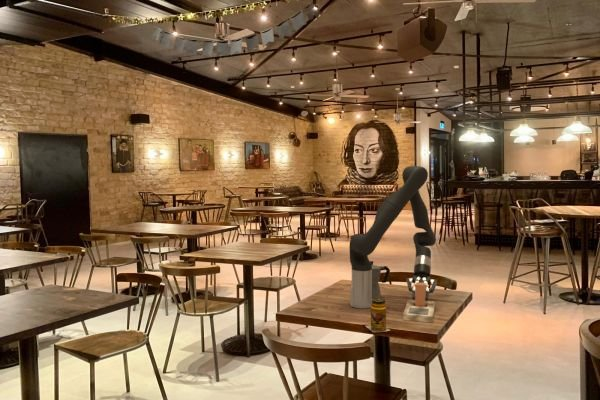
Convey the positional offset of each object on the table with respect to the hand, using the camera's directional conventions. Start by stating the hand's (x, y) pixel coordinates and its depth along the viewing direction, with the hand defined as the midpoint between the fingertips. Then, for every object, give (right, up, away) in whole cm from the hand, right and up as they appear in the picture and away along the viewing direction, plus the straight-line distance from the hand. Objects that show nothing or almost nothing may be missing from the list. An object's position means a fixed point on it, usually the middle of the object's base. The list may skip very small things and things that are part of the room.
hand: (420, 299), depth 228 cm
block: (+1, -5, +2) cm, 6 cm away
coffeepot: (-17, -4, +24) cm, 30 cm away
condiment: (-22, -7, -23) cm, 33 cm away
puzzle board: (-1, -6, -3) cm, 6 cm away
